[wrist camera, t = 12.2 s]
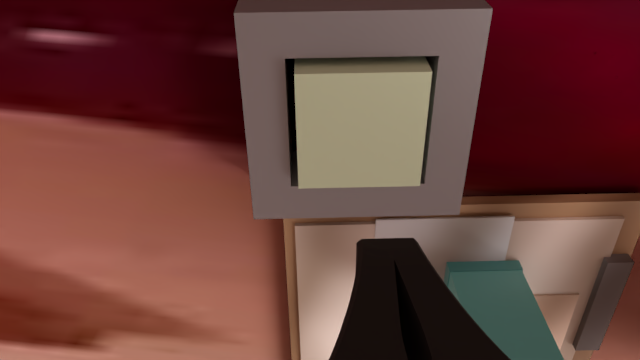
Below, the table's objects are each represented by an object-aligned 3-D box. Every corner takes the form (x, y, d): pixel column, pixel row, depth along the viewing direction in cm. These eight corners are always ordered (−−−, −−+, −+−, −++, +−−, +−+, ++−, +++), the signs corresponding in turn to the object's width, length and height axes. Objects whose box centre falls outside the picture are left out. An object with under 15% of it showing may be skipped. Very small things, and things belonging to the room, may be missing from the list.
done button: (418, 43, 20) (432, 71, 18) (408, 149, 22) (419, 186, 20) (295, 45, 20) (294, 74, 17) (299, 151, 22) (298, 188, 20)
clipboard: (646, 192, 24) (660, 209, 23) (578, 368, 31) (587, 386, 30) (282, 200, 24) (282, 217, 23) (293, 375, 31) (292, 393, 30)
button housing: (471, -14, 19) (492, 8, 17) (445, 178, 24) (459, 214, 21) (241, -10, 19) (233, 13, 17) (258, 182, 24) (253, 219, 21)
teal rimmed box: (518, 260, 25) (583, 395, 19) (506, 311, 27) (561, 448, 21) (446, 261, 25) (489, 397, 19) (438, 312, 27) (475, 450, 21)
